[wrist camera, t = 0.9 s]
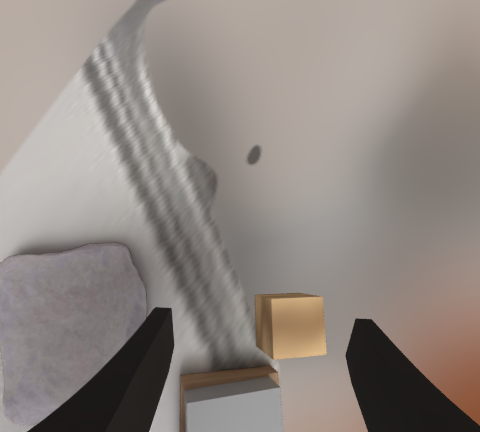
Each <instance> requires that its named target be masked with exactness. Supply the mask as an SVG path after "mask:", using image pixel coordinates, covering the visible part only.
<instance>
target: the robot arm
mask: <svg viewBox="0 0 480 432" xmlns="http://www.w3.org/2000/svg"><path fill="white" fill-rule="evenodd" d="M173 349H174V336H173V323H172V310H171V308H160V307H156V308H155V309H153V311H152V312H151V313H150V314H149V316H148V317H147V318H146V319H145V321H144V322H143V323H142V324H141V326H140V327H139V328H138V329H137V330H136V332H135V333H134V334H133V335H132V336H131V337H130V339H129V340H128V341H127V342H126V343H125V344H124V345H123V346H122V348H121V349H120V350H119V351H118V352H117V353H116V354H115V355H114V356H113V357H112V358H111V359H110V360H109V361H108V362H107V363H106V364H105V365H104V366H103V367H102V369H101V370H100V371H99V372H98V373H97V374H95V375H94V376H93V377H92V378H91V379H90V380H89V381H88V382H87V383H86V384H85V385H84V386H83V387H82V388H80V389H79V390H78V391H77V392H76V393H75V394H74V395H73V396H71V397H70V398H69V399H68V400H67V401H65V402H64V403H63V404H62V405H61V406H59V407H58V408H57V409H56V410H55V411H54V412H52V413H51V414H50V415H49V416H47V417H46V418H45V419H43V420H42V421H41V422H40V423H38V424H37V425H36V426H34V427H33V428H31V429H30V430H29V431H27V432H149V430H150V427H151V424H152V421H153V418H154V415H155V412H156V409H157V406H158V403H159V400H160V397H161V394H162V391H163V388H164V385H165V382H166V379H167V375H168V372H169V368H170V363H171V359H172V354H173ZM346 360H347V365H348V370H349V374H350V378H351V383H352V386H353V389H354V392H355V394H356V398H357V400H358V404H359V406H360V409H361V412H362V415H363V418H364V421H365V424H366V427H367V429H368V432H480V426H479V425H478V424H477V423H476V422H475V421H473V420H472V419H471V418H470V417H469V416H468V415H466V414H465V413H464V412H463V411H462V410H461V409H459V408H458V407H457V406H456V405H455V404H454V403H452V402H451V401H450V400H449V399H448V398H447V397H446V396H445V395H444V394H443V393H441V391H440V390H439V389H437V388H436V387H435V386H434V385H433V384H432V383H431V382H430V381H429V380H428V379H427V378H426V377H425V376H424V375H423V374H422V373H421V372H420V371H419V370H418V369H417V368H416V367H415V366H414V365H413V364H412V363H411V362H410V361H409V360H408V359H407V358H406V357H405V355H403V353H402V352H401V351H400V350H399V349H398V348H397V347H396V346H395V345H394V344H393V342H392V341H391V340H390V339H389V338H388V337H387V336H386V335H385V334H384V333H383V331H382V330H381V329H380V328H379V327H378V326H377V325H376V324H375V323H374V322H373V320H371V319H356V320H355V323H354V327H353V330H352V334H351V338H350V341H349V345H348V349H347V352H346Z"/></svg>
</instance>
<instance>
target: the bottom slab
mask: <svg viewBox="0 0 480 432" xmlns="http://www.w3.org/2000/svg"><path fill="white" fill-rule="evenodd" d="M262 377H270V378H271V379H272V380H273V381H274V382H275V383H276V384H277V385H279V379H278V372H277V371H276V370H275V369H274V368H272V367H271V366H262V367H253V368H244V369H234V370H225V371H216V372H207V373H197V374H188V375H180V432H185V400H184V390H188V389H194V388H200V387H206V386H213V385H219V384H225V383H231V382H237V381H244V380H250V379H256V378H262Z"/></svg>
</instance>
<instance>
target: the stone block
mask: <svg viewBox="0 0 480 432" xmlns="http://www.w3.org/2000/svg"><path fill="white" fill-rule="evenodd" d="M146 316H147V303H146V288H145V286H144V284H143V282H142V279H141V277H140V275H139V273H138V271H137V268H136V267H135V265H134V264H133V262H132V258H131V254H130V250H129V249H128V248H127V247H126V246H124V245H121V244H119V243H101V244H96V243H94V244H86V245H84V246H81V247H78V248H76V249H73V250H68V251H64V252H61V253H45V254H41V255H39V254H23V255H14V256H9V257H8V258H6V259H5V260H3V261H2V262H0V352H1V356H2V362H3V377H4V382H5V384H4V395H3V407H4V413H5V417H7V418H8V419H9V420H10V421H11V422H12V423H13V424H16V425H25V426H30V425H34V424H37V423H38V422H40V421H41V420H43V419H45V418H46V417H47V416H49V415H50V414H51V413H52V412H54V411H55V410H56V409H57V408H58V407H59V406H61V405H62V404H63V403H64V402H65V401H67V400H68V399H69V398H70V397H71V396H73V395H74V394H75V393H76V392H77V391H78V390H79V389H80V388H82V387H83V386H84V385H85V384H86V383H87V382H88V381H89V380H90V379H91V378H92V377H93V376H94V375H95V374H97V373H98V372H99V371H100V370H101V369H102V367H103V366H104V365H105V364H106V363H107V362H108V361H109V360H110V359H111V358H112V357H113V356H114V355H115V354H116V353H117V352H118V351H119V350H120V349H121V348H122V346H123V345H124V344H125V343H126V342H127V341H128V340H129V339H130V337H131V336H132V335H133V334H134V333H135V332H136V330H137V329H138V328H139V327H140V326H141V324H142V323H143V322H144V321H145V319H146Z"/></svg>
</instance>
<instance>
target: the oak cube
mask: <svg viewBox="0 0 480 432" xmlns="http://www.w3.org/2000/svg"><path fill="white" fill-rule="evenodd" d="M255 319H256V346H257V347H258V348H259V349H261V350H262V351H263V352H264V353H266V354H267V355H268V356H270V357H271V358H272V359H273V360H276V359H286V358H296V357H307V356H316V355H326V339H325V324H324V310H323V297H322V296H316V295H309V294H302V293H287V294H263V295H255Z"/></svg>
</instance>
